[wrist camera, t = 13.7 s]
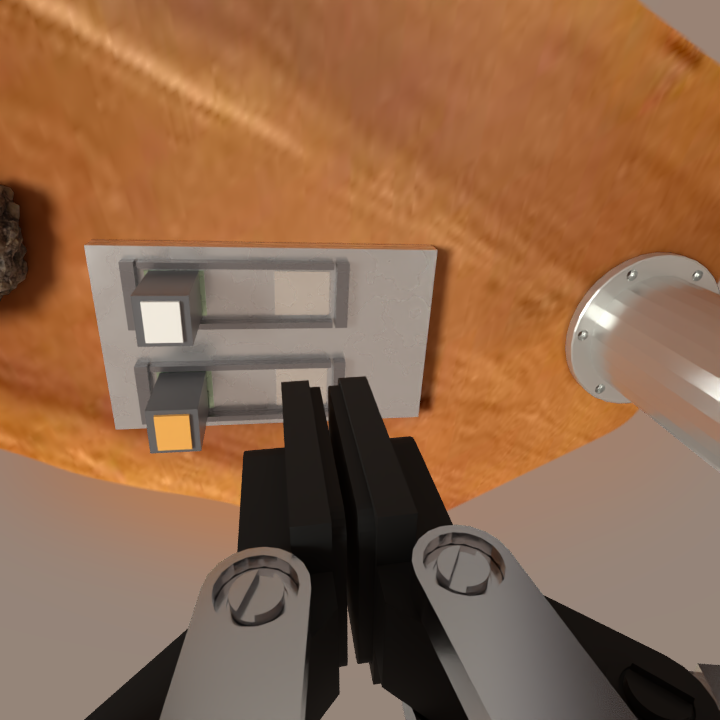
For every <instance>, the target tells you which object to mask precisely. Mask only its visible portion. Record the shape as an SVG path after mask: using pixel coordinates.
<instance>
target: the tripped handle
mask: <svg viewBox="0 0 720 720" xmlns="http://www.w3.org/2000/svg"><path fill="white" fill-rule="evenodd" d="M208 412H209V405H208V392H207V380H206V372H176V373H159V376H158V378H157V381H156V383H155V386H154V389H153V391H152V394H151V396H150V399H149V401H148V404H147V406H146V409H145V418H146V425H147V432H148V439H149V446H150V453H168V452H189V451H201V450H202V444H203V439H204V434H205V428H206V423H207V417H208Z"/></svg>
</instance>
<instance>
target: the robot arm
mask: <svg viewBox="0 0 720 720" xmlns="http://www.w3.org/2000/svg"><path fill="white" fill-rule="evenodd" d="M565 350H566V359H567V363H568V366H569V369H570V372H571V374H572V375H573V377H574V378H575V380H576V381H577V383H578V384H580V385H581V386H582V387H583V388H584V389H585V390H586V391H587V392H588V393H590V394H591V395H592V396H594V397H596V398H598V399H601V400H604V401H606V402H612V403H633V404H635V405H636V406H637V407H638V408H640V409H641V410H642V411H643V412H644V413H646V414H647V415H648V416H649V417H651V418H652V419H653V420H654V421H656V422H657V423H658V424H659V425H661V426H662V427H663V428H665V429H666V430H667V431H668V432H669V433H671V434H672V435H673V436H674V437H676V438H677V439H678V440H679V441H681V442H682V443H683V444H684V445H686V446H687V447H688V448H689V449H691V450H692V451H693V452H694V453H696V454H697V455H698V456H699V457H701V458H702V459H703V460H704V461H705V462H707V463H708V464H709V465H711V466H712V467H713V468H714V469H715V470H717V471H718V472H719V473H720V292H719V288H718V286H717V284H716V281H715V279H714V277H713V276H712V275H711V273H710V272H709V271H708V270H707V268H705V267H704V266H703V265H701V264H700V263H699V262H697V261H695V260H693V259H690V258H688V257H685V256H682V255H678V254H674V253H665V252H655V253H650V254H645V255H640V256H638V257H635V258H632V259H630V260H627V261H625V262H623V263H622V264H620V265H618V266H617V267H615V268H613V269H611V270H610V271H609V272H608V273H606V274H605V275H604V276H603V277H601V278H600V279H599V280H598V281H597V282H596V283H595V284H594V285H593V286H592V287H591V289H590V290H589V291H588V292H587V293H586V294H585V296H584V297H583V299H582V300H581V302H580V303H579V305H578V306H577V308H576V310H575V313H574V315H573V317H572V319H571V321H570V325H569V328H568V332H567V337H566V347H565ZM281 392H282V409H283V426H284V443H285V448H274V449H262V450H251V451H244V455H243V470H242V486H241V502H240V519H239V536H238V551H237V553H235V554H232V555H231V556H229V557H228V558H226V559H225V560H223V561H221V562H220V563H218V565H217V566H216V567H215V568H214V569H213V570H212V571H211V572H210V573H209V574H208V575H207V577H206V579H205V581H204V583H203V585H202V587H201V589H200V593H199V596H198V599H197V602H196V605H195V608H194V611H193V615H192V618H191V621H190V624H189V627H188V629H187V630H186V631H185V632H183V633H182V634H181V635H180V636H179V637H178V638H177V639H175V640H174V641H173V642H172V643H171V644H170V645H169V646H167V647H166V648H165V649H164V650H163V651H162V652H161V653H160V654H158V655H157V656H156V657H155V658H154V659H153V660H152V661H150V662H149V663H148V664H147V665H146V666H145V667H144V668H142V669H141V670H140V671H139V672H138V673H137V674H136V675H134V676H133V677H132V678H131V679H130V680H129V681H128V682H126V683H125V684H124V685H123V686H122V687H121V688H120V689H119V690H117V691H116V692H115V693H114V694H113V695H112V696H111V697H110V698H108V699H107V700H106V701H105V702H104V703H103V704H101V705H100V706H99V707H98V708H97V709H96V710H95V711H94V712H93V713H91V714H90V715H89V716H88V717H87V718H86V719H84V720H320V719H321V718H322V716H323V715H324V714H325V712H326V711H327V710H328V708H329V707H330V706H331V704H332V703H333V702H334V700H335V699H336V698H337V696H338V695H339V667H341V666H347V662H348V658H347V655H348V654H347V606H348V612H349V618H350V624H351V630H352V636H353V642H354V648H355V654H356V659H357V663H358V664H362V663H368V662H369V664H370V670H371V675H372V681H373V684H380V683H381V685H382V687H383V688H384V689H386V690H387V691H389V692H390V693H391V694H393V695H394V696H396V697H397V698H398V699H400V700H401V701H402V706H403V711H404V715H405V719H406V720H720V665H711V664H699V663H698V664H697V666H696V668H695V670H694V672H693V671H688V670H687V669H685V668H684V667H683V666H681V665H680V664H678V663H676V662H675V661H673V660H672V659H670V658H668V657H667V656H665V655H663V654H661V653H659V652H657V651H655V650H653V649H651V648H649V647H647V646H645V645H643V644H641V643H639V642H637V641H635V640H633V639H631V638H629V637H627V636H625V635H623V634H621V633H619V632H617V631H615V630H613V629H611V628H609V627H607V626H605V625H603V624H600V623H599V622H596V621H595V620H593V619H591V618H589V617H587V616H585V615H583V614H581V613H579V612H576V611H574V610H572V609H570V608H568V607H566V606H564V605H562V604H560V603H558V602H556V601H554V600H552V599H550V598H548V597H546V596H544V595H543V594H542V593H541V592H540V590H539V589H538V588H537V587H536V585H535V584H534V582H533V581H532V580H531V578H530V577H529V576H528V574H527V573H526V572H525V571H524V569H523V568H522V567H521V565H520V564H519V563H518V561H517V560H516V559H515V557H514V556H513V555H512V553H510V551H509V550H508V549H507V548H506V547H505V546H504V545H503V544H502V543H501V542H500V541H499V540H498V539H497V538H495V537H493V536H492V535H490V534H488V533H487V532H485V531H482V530H479V529H476V528H473V527H470V526H462V525H453V524H452V522H451V520H450V517H449V515H448V513H447V511H446V509H445V506H444V504H443V502H442V500H441V497H440V495H439V493H438V491H437V489H436V486H435V484H434V482H433V480H432V477H431V475H430V473H429V471H428V469H427V466H426V464H425V462H424V460H423V458H422V455H421V453H420V451H419V449H418V446H417V444H416V442H415V440H414V439H413V437H410V436H409V437H398V438H389V435H388V433H387V430H386V428H385V425H384V422H383V420H382V417H381V414H380V412H379V409H378V406H377V404H376V401H375V398H374V396H373V393H372V390H371V388H370V385H369V382H368V380H367V378H366V376H360V377H346V378H338V385H334V386H328V421H329V430H328V425H327V420H326V414H325V409H324V404H323V399H322V394H321V389H320V387H310V386H309V380H303V381H289V382H281Z"/></svg>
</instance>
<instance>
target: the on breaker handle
mask: <svg viewBox="0 0 720 720" xmlns="http://www.w3.org/2000/svg"><path fill="white" fill-rule="evenodd" d="M131 304H132V311H133V318H134V325H135V332H136V339H137V346H138V347H164V346H193V345H194V342H195V338H196V335H197V332H198V328H199V325H200V322H201V318H202V306H201V294H200V281H199V271H196V270H195V271H192V270H185V271H184V270H183V271H182V270H180V271H179V270H173V271H171V270H168V271H160V270H159V271H148V272H147V273H146V275H145V276H144V278H143V279H142V280H141V282H140V283H139V285H138V286H137V287H136V289H135V290H134V292H133V293H132V294H131Z"/></svg>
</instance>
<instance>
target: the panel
mask: <svg viewBox="0 0 720 720" xmlns="http://www.w3.org/2000/svg"><path fill="white" fill-rule="evenodd" d="M84 248H85V253H86V259H87V265H88V271H89V277H90V282H91V288H92V294H93V300H94V306H95V311H96V317H97V323H98V329H99V335H100V340H101V346H102V352H103V358H104V364H105V369H106V375H107V381H108V387H109V393H110V398H111V404H112V410H113V416H114V422H115V427H116V429H137V428H147V425H146V418H145V409H146V406H147V404H148V401H149V399H150V396H151V394H152V391H153V389H154V386H155V383H156V381H157V378H158V376H159V373H176V372H206V380H207V392H208V405H209V412H208V417H207V423H206V426H209V425H232V424H256V423H280V422H283V409H282V392H281V382H289V381H303V380H309V386H310V387H320V389H321V394H322V399H323V404H324V409H325V414H326V420H327V421H328V386H334V385H338V378H346V377H360V376H366V378H367V380H368V382H369V385H370V388H371V390H372V393H373V396H374V398H375V401H376V404H377V406H378V409H379V412H380V414H381V417H382V418H400V417H418V413H419V405H420V396H421V388H422V379H423V370H424V362H425V353H426V345H427V336H428V327H429V319H430V310H431V302H432V293H433V285H434V276H435V267H436V259H437V249H436V248H434V247H433V246H432V245H406V244H341V243H277V242H213V241H149V240H90V241H89V242H88V243H86V244H85V245H84ZM159 270H160V271H168V270H171V271H173V270H179V271H180V270H182V271H183V270H184V271H185V270H192V271H195V270H196V271H199V281H200V294H201V306H202V318H201V322H200V325H199V328H198V332H197V335H196V338H195V342H194V345H193V346H164V347H138V346H137V339H136V332H135V325H134V318H133V311H132V304H131V294H132V293H133V292H134V290H135V289H136V287H137V286H138V285H139V283H140V282H141V280H142V279H143V278H144V276H145V275H146V273H147V272H148V271H159Z"/></svg>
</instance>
